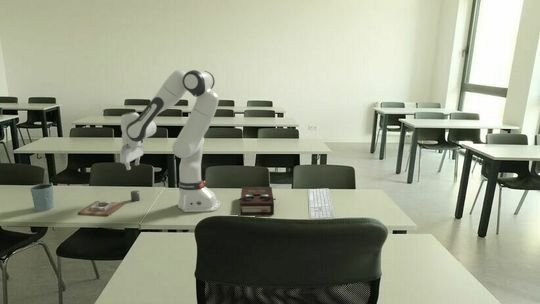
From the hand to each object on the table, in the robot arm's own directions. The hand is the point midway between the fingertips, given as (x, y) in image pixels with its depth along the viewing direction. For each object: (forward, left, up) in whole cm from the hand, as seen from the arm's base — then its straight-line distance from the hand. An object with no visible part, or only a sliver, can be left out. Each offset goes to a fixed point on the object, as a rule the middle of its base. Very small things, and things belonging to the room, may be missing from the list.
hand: (132, 167), depth 205 cm
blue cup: (+41, +18, -19) cm, 49 cm away
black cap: (0, 0, -19) cm, 19 cm away
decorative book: (-68, -2, -20) cm, 71 cm away
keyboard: (-102, -10, -20) cm, 104 cm away
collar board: (+11, +15, -19) cm, 27 cm away
